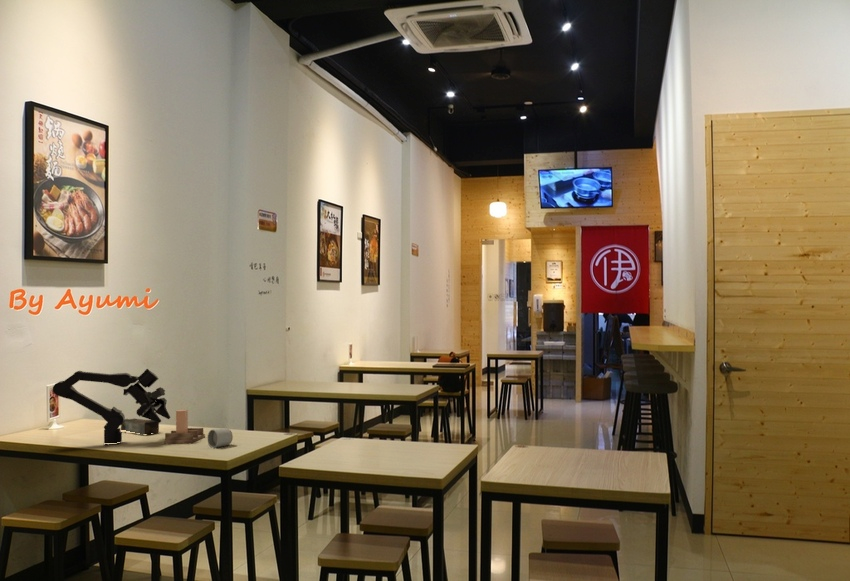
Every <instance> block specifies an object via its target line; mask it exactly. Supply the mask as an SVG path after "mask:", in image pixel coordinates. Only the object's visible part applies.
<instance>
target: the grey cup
mask: <svg viewBox="0 0 850 581" xmlns="http://www.w3.org/2000/svg"><path fill="white" fill-rule="evenodd" d="M233 438H234V437H233V432H232V430H231V429H229V428H223V427H222V428H212V429H210V430H209V432H208V434H207V443H208V446H209V447H210V448H212V449H215V448H220V447H226V446H229V445H230V444H231V443H232V441H233Z"/></svg>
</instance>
